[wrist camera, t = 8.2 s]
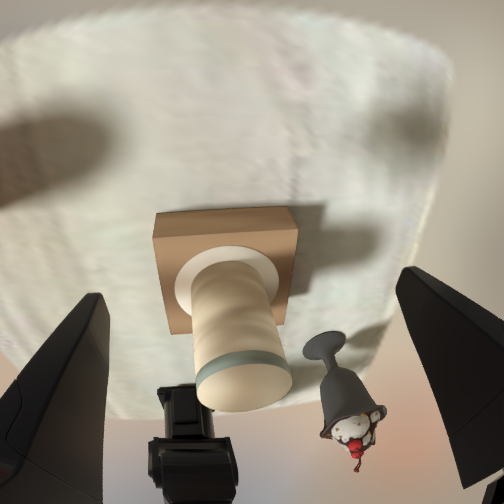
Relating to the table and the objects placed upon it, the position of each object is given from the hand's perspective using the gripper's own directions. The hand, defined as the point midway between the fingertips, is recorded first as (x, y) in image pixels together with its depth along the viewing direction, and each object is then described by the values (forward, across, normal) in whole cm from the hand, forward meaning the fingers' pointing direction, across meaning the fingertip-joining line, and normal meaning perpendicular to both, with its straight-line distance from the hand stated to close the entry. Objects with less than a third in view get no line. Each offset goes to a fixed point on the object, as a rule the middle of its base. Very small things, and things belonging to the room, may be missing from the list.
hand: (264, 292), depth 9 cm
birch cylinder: (+10, 0, +9) cm, 13 cm away
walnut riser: (+13, 0, +9) cm, 16 cm away
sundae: (+13, -11, +22) cm, 28 cm away
